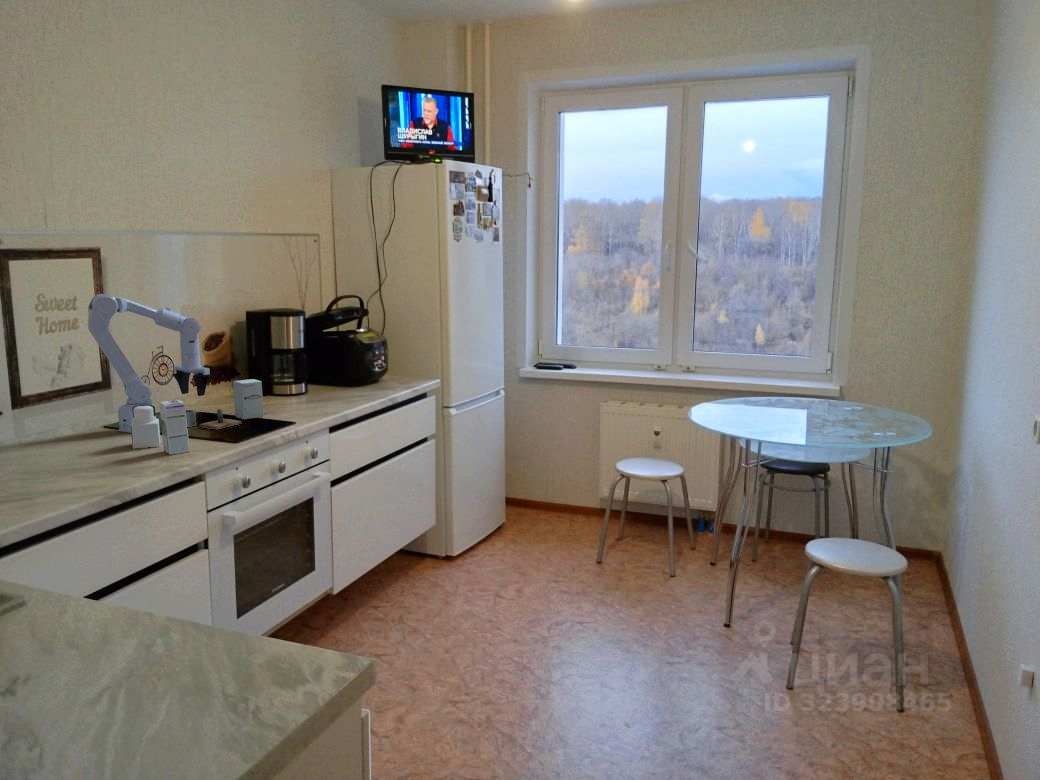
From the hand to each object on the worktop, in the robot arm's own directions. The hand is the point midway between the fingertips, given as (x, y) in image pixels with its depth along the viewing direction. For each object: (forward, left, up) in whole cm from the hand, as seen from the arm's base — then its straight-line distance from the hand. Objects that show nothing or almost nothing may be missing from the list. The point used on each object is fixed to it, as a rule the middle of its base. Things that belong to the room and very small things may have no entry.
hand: (193, 394), depth 257 cm
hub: (-5, -3, -10) cm, 11 cm away
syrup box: (-29, -27, -10) cm, 41 cm away
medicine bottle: (-28, -13, -10) cm, 32 cm away
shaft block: (0, -12, -10) cm, 15 cm away
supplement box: (+15, -9, -10) cm, 20 cm away
